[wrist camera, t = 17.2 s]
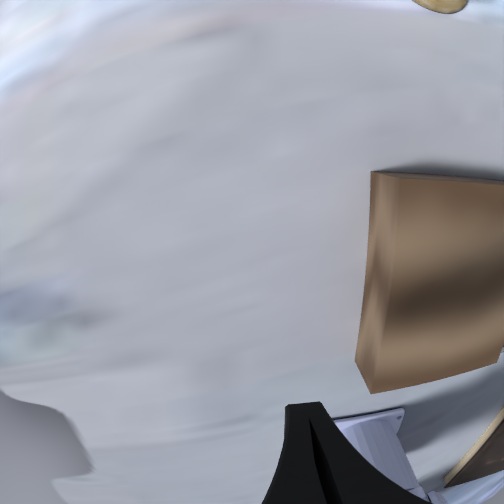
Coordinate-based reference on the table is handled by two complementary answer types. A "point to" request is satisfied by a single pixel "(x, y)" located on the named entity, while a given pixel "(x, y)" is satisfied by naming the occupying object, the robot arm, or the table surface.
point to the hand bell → (442, 5)
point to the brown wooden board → (431, 279)
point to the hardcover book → (481, 456)
